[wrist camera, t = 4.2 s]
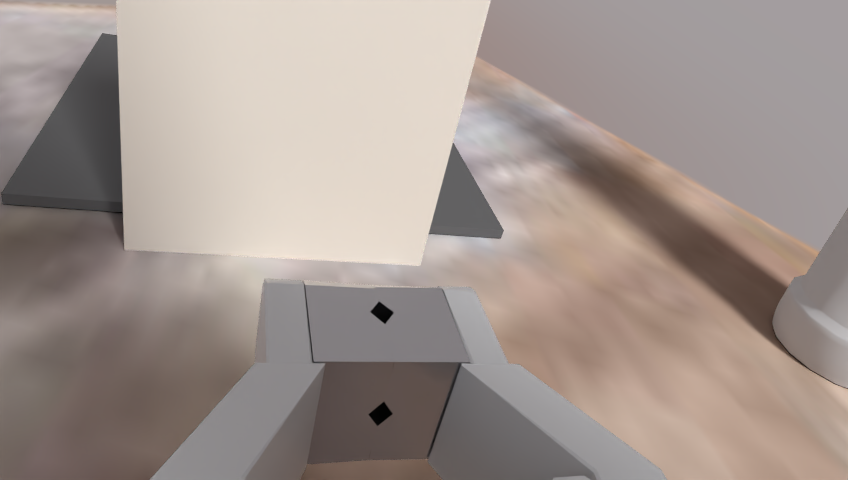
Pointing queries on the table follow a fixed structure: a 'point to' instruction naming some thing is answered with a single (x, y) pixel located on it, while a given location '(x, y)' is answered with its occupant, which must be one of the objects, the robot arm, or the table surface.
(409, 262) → the tile
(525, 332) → the table surface
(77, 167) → the mat
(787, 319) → the bottle
